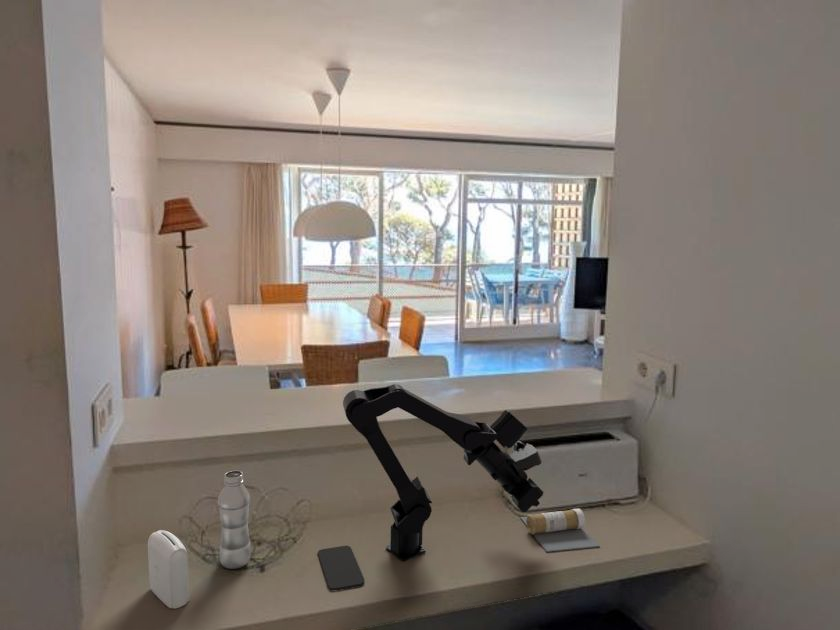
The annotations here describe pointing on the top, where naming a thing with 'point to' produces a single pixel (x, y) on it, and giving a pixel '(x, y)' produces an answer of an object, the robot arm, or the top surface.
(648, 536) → the top surface
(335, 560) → the phone
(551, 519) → the sprinkles bottle
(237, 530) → the plastic bottle
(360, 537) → the top surface
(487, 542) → the top surface
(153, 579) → the photo printer
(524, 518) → the mat
